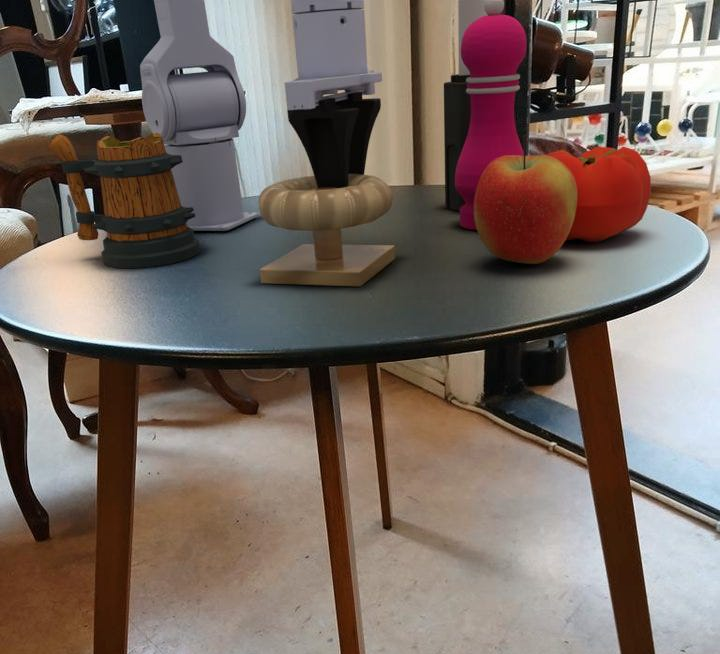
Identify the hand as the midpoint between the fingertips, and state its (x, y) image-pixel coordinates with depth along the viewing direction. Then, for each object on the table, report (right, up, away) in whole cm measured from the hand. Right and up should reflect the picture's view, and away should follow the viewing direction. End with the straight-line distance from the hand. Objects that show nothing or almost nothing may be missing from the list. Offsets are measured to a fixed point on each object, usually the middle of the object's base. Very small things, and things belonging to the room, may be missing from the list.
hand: (341, 194), depth 67 cm
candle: (+14, +6, +20) cm, 25 cm away
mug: (-21, -3, +10) cm, 23 cm away
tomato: (+23, -3, +4) cm, 23 cm away
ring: (-1, -2, -3) cm, 4 cm away
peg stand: (-1, -7, 0) cm, 7 cm away
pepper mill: (+15, +1, +12) cm, 19 cm away
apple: (+15, -7, -2) cm, 17 cm away
